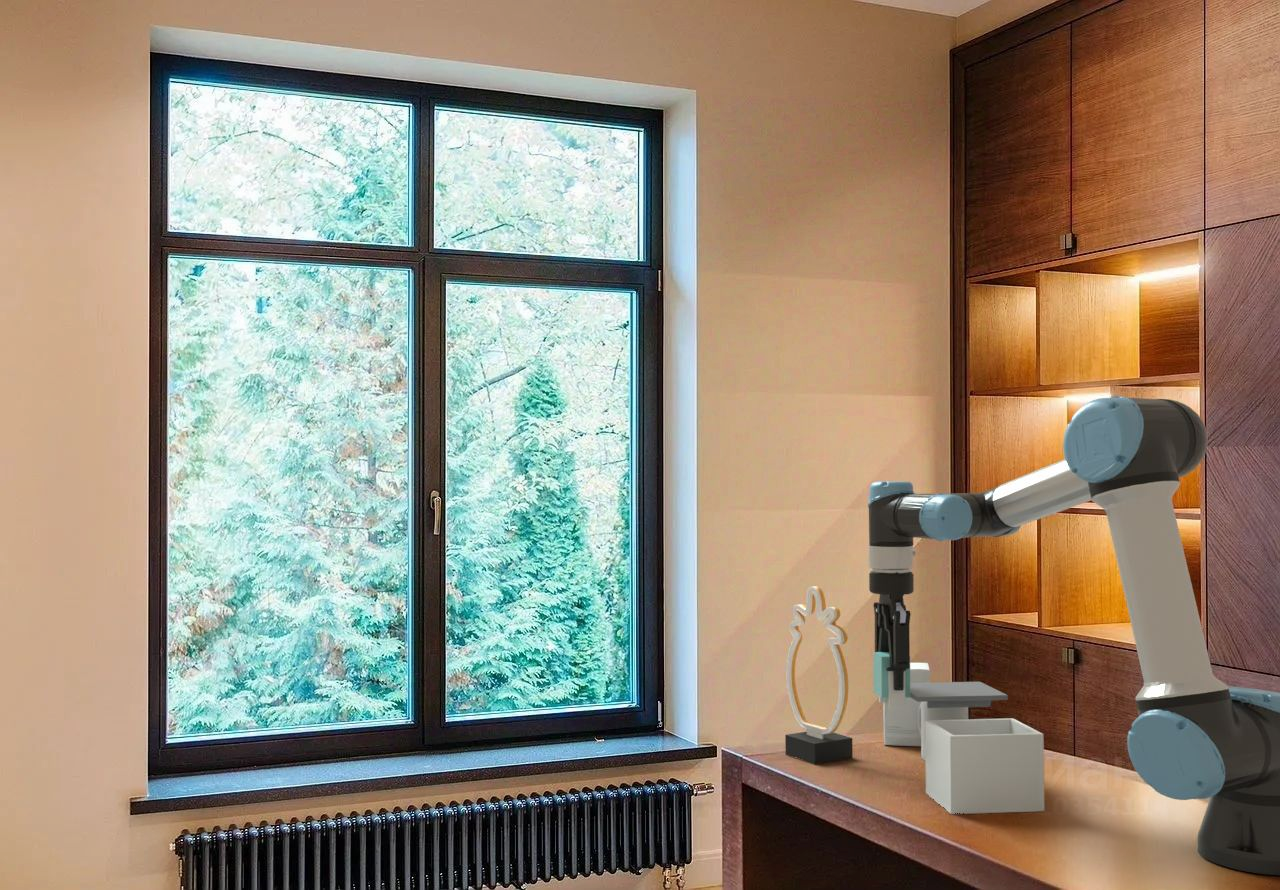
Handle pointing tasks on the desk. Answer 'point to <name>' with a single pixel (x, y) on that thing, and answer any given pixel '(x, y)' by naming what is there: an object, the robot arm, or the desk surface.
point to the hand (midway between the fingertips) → (891, 705)
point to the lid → (935, 689)
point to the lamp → (821, 740)
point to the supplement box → (906, 713)
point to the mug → (937, 714)
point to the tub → (984, 765)
